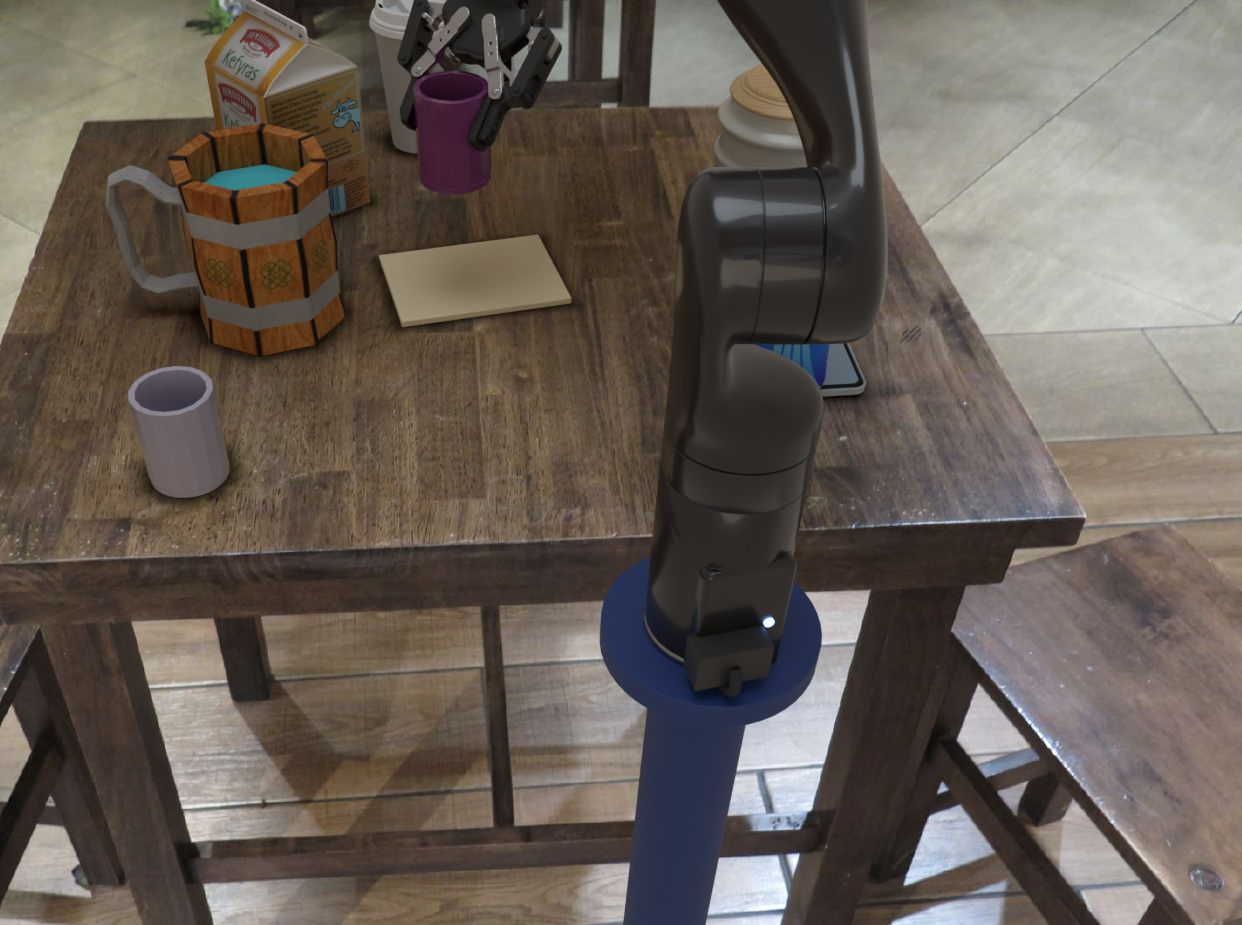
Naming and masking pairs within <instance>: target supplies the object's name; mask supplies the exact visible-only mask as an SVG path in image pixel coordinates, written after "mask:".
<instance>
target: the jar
mask: <svg viewBox="0 0 1242 925" xmlns="http://www.w3.org/2000/svg"><path fill="white" fill-rule="evenodd" d="M729 94H730V95H729V96H728V97H726V98H725V99H724V100H723V101H722V102H721V103H720V105H719V107H718V109H717V118H718V120H719V123H720V125H721V130H720V133H719V135H718V136H717V137H716V138H715V140H714V142H713V152H714V161H713V168H714V167H807V163H806V158H805V154H804V150H803V146H802V142H801V139H800V136H799V132H798V129H797V126H796V123H795V121H794V118H793V116H792V113H791V111H790V109H789V107H788V105H787V103H786V100H785V98H784V96H783V95H782V93H781V91H780V89H779V88H778V86H777V84H776V83H775V81H774V80H773V78H772V77H771V76H770V74H769V73H768V71H767V70H766V68H765V67H764V66H763V64H762V63H759V64H757V65H755V66H754V67H752V68H751V69H749V70H746V71H744V72H742V73H740V74H738V75H737V76H735V78H734V79H732V81H731V83H730V86H729Z"/></svg>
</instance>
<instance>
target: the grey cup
mask: <svg viewBox="0 0 1242 925" xmlns="http://www.w3.org/2000/svg"><path fill="white" fill-rule="evenodd" d="M127 400H128V405H129V408H130V412H131V415H132V419H133V422H134V427H135V431H136V434H137V438H138V442H139V445H140V449H141V453H142V457H143V460H144V464H145V468H146V471H147V475H148V478H149V480H150V483H151V485H152V487H153V488H154V489H155V490H156V491H157V492H159V493H160V494H161V495H164V496H167V497H171V498H175V499H176V498H177V499H190V498H197V497H200V496H203V495H206V494H209V493H211V492H213V491H215V490H216V489H218V488H219V487H221V486H222V484H224V483H225V481H226V480H227V478H228V477H229V474H230V470H231V467H230V461H229V455H228V449H227V446H226V440H225V435H224V430H223V426H222V421H221V417H220V411H219V407H218V406H219V405H218V402H217V396H216V393H215V388H214V384H213V379H212V378H211V377H210V376H209V375H208V374H207V373H206V372H205V371H203V370H200V369H198V368H195V367H192V366H183V365H173V366H166V367H160V368H157V369H153V370H151V371H149V372H146V373H144V374H143V375H141V376H140V377H139V378H137V379H136V380H135V381H134V382H133V383H132V385H131V386H130V388H129V390H128V391H127Z"/></svg>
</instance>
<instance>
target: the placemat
mask: <svg viewBox="0 0 1242 925" xmlns="http://www.w3.org/2000/svg"><path fill="white" fill-rule="evenodd" d="M378 261H379V264H380V267H381V270H382V272H383V275H384V279H385V282H386V284H387V287H388V291H389V293H390V297H391V299H392V303H393V305H394V308H395V311H396V315H397V317H398V320H399V323H400V326H401V328H407V327H415V326H420V325H429V324H435V323H443V322H450V321H456V320H463V319H471V318H476V317H477V318H479V317H484V316H490V315H491V316H492V315H499V314H506V313H507V314H508V313H514V312H521V311H527V310H533V309H541V308H548V307H556V306H563V305H570V304H572V295H571V294H570V292H569V290H568V288H567V287H566V285H565V283H564V281H563V279H562V277H561V275H560V273H559V271H558V269H557V268H556V266H555V264H554V262H553V260H552V258H551V256H550V255H549V253H548V250H547V248H546V246H545V244H544V243H543V242H542V239H541V237H540V235H539V234H531V235H524V236H517V237H516V236H515V237H507V238H500V239H494V240H493V239H492V240H486V241H478V242H471V243H461V244H455V245H447V246H439V247H431V248H423V249H417V250H409V251H402V252H392V253H386V254H385V253H384V254H379V255H378Z"/></svg>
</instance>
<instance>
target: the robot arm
mask: <svg viewBox="0 0 1242 925" xmlns="http://www.w3.org/2000/svg"><path fill="white" fill-rule="evenodd" d="M546 1H547V0H447V1H446V2H445V3H444V4H442V3H434V2H429V1H428V0H414V1H413V5H412V8H411V12H410V15H409V18H408V22H407V25H406V29H405V32H404V36H403V39H402V42H401V46H400V49H399V53H398V56H397V61H398V63H399V64H400V65H401V66H402V67H403V68H404V69H405V70H406V71H407V72H408V73H409V74H410V75H411V81H410V84H409V86H408V89H407V91H406V94H405V96H404V99H403V102H402V104H401V106H400V113H399V114H400V115H401V122H402V123H403V124H404V125H405V126H406V127H407V128H408V129H410V130H413V131H416V125H415V109H414V94H413V87H414V85H415V83H416V81H417V80H419V79H420V78H422V77H423V76H425V75H429V74H432V73H435V72H442V71H457V70H458V69H459V67H460V66H461V65H462V64H465V65H468V66H476V65H477V66H479V67H480V68H482V69H484V70H485V72H486V74H487V82H488V94H489V99H483V102H482V104H481V107H480V109H479V111H478V114H477V116H476V119H475V121H474V124H473V126H472V129H471V131H470V134H469V137H468V143H469V144H470V145H471V146H472V147H473V148H474V149H475V150H477V151H481V152H485V151H486V149H487V147H488V146H489V147H491V148H492V146H493V144H494V143H495V142H496V139H497V137H498V134H499V132H500V129H501V126H502V124H503V121H504V119H505V117H506V116H507V113H508V112H509V111H511V110H512V109H515V108H522V109H523V110H525V111H526V110H530V109H532V108H533V107H534V105H535V104H536V101H537V99H538V97H539V96H540V94H541V92H542V89H543V88H544V86H545V84H546V82H547V80H548V78H549V76H550V74H551V72H552V70H553V68H554V66H555V65H556V62H557V60H558V58H559V57H560V55H561V53H562V51H563V45H562V43H561V42H560V41H559V38H558V37H557V36H556V34H555V33H554V32H553V31H552V30H551V29H550V28H549V27H543V28H541V29H540V28H537V27H536V19H537V18H538V17H540V16H541V14H542V12H543V9H544V7H545V4H546ZM716 1H717V3H718V4H719V6H720V7H721V9H722V11H723V12H724V14H725V16H726V17H727V18H728V20H729V21H730V23H731V24H732V26H733V28H734V29H735V30H736V32H737V33H738V34H739V36H740V37H741V38H742V39H743V41H744V43H745V44H746V45H747V46H748V48H749V49H750V50H751V51H752V54H754V56H755V57H756V58H757V60H759V62H760V64H763V66H764V67H765V68H766V70H767V71H768V73H769V74H770V76H771V77H772V78H773V80H774V81H775V83H776V84H777V86H778V88H779V89H780V91H781V93H782V95H783V96H784V98H785V100H786V103H787V105H788V107H789V109H790V111H791V113H792V116H793V118H794V121H795V123H796V126H797V129H798V132H799V136H800V139H801V142H802V146H803V150H804V154H805V158H806V163H807V167H714V166H713V167H709V168H705V169H703V170H701V171H700V172H698V173H697V174H696V175H695V176H694V177H693V179H692V180H691V182H690V183H689V185H688V187H687V189H686V191H685V194H684V197H683V201H682V204H681V206H680V207H681V209H680V212H679V218H678V219H679V220H678V225H677V233H676V234H677V235H676V236H677V237H676V251H675V278H674V279H675V280H674V285H675V286H674V308H673V327H672V328H673V332H672V344H671V354H670V362H669V364H670V365H669V374H668V383H667V385H668V386H667V393H666V394H667V395H666V404H665V411H664V412H665V413H664V420H663V421H664V422H663V431H662V441H661V451H660V457H659V468H658V479H657V487H656V497H655V506H654V510H655V511H654V518H653V527H652V538H651V548H650V556H649V557H650V566H649V576H648V589H647V599H646V602H645V606H644V613H643V623H644V628H645V631H646V634H647V636H648V638H649V640H650V641H651V643H652V644H653V645H654V646H655V648H656V649H657V650H658V651H659V652H660V653H662V654H663V655H664V656H665V657H667V658H668V659H670V660H672V661H673V662H675V663H677V664H679V665H681V666H684V669H685V671H686V673H687V675H688V677H689V679H690V682H691V684H692V686H693V688H694V690H695V691H699V690H704V689H709V688H714V687H717V688H718V690H719V691H721V692H722V693H724V694H725V695H727V696H730V697H734V696H736V695H738V694H739V692H740V690H741V686H742V682H744V681H749V680H754V679H759V678H764V677H768V675H769V670H770V666H771V664H772V663H775V662H776V661H777V656H778V652H779V647H780V643H781V638H782V633H783V629H784V624H785V619H786V615H787V610H788V605H789V601H790V596H791V592H792V587H793V582H795V577H796V573H797V568H798V561H797V559H796V558H795V551H796V546H797V543H798V542H797V541H798V537H799V532H800V528H801V527H800V526H801V523H802V522H801V521H802V517H803V513H804V508H805V504H806V498H807V492H808V488H809V484H810V481H811V475H812V471H813V466H814V460H815V457H816V451H817V447H818V443H819V438H820V434H821V430H822V429H821V428H822V426H823V420H824V412H825V404H824V398H823V397H824V396H822V393H821V390H820V388H819V386H818V384H817V383H816V381H815V380H814V378H813V377H812V376H811V375H810V374H809V373H808V372H807V371H806V370H805V369H804V368H803V367H801V366H800V365H798V364H797V363H795V362H794V361H792V360H791V359H789V358H787V357H785V356H783V355H781V354H779V353H776V352H774V351H771V350H769V349H766V348H763V347H761V346H758V345H755V344H778V345H801V344H802V345H818V344H844V343H849V344H851V343H855V342H857V341H860V340H862V339H863V338H865V337H866V336H867V335H868V334H869V333H870V332H871V331H872V329H873V327H874V326H875V324H876V323H877V320H878V318H879V315H880V312H881V309H882V307H883V302H884V297H885V292H886V286H887V285H886V284H887V275H888V274H887V273H888V254H889V253H888V252H889V250H888V224H887V223H888V222H887V211H886V199H885V189H884V180H883V179H884V178H883V170H882V162H881V153H880V145H879V144H880V143H879V138H878V137H879V136H878V128H877V119H876V118H877V117H876V110H875V101H874V93H873V85H872V84H873V82H872V74H871V62H870V49H869V24H868V22H869V19H868V16H869V15H868V0H716ZM442 21H444V28H443V29H442V30H441V31H440V32H439V33H438V34H437V35H436V36H435V37H434V39H433V40H432V37H433V33H434V31H438V30H439V24H440V23H441V22H442ZM431 40H432V41H431ZM447 47H449V49H450V50H451V53H449V54H445V50H446V48H447ZM526 47H527V54H526V56H525V58H524V60H523V61H522V63H521V66H520V68H519V69H518V72H517V74H516V76H515V58H514V57H515V56H516V55H517V54H518V53H519V52H521V51H522V50H523V49H525V48H526Z"/></svg>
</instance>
